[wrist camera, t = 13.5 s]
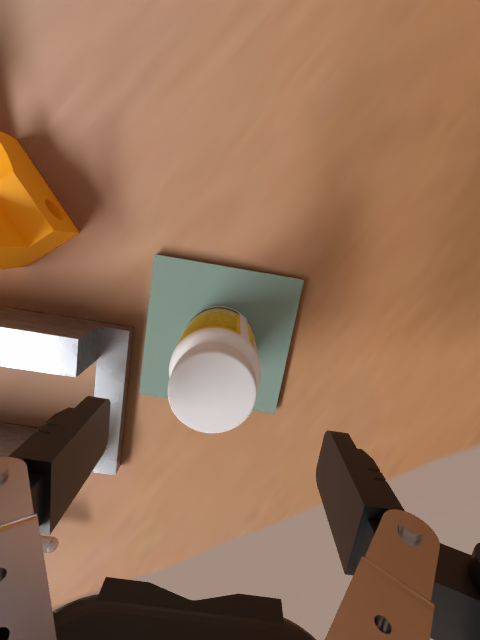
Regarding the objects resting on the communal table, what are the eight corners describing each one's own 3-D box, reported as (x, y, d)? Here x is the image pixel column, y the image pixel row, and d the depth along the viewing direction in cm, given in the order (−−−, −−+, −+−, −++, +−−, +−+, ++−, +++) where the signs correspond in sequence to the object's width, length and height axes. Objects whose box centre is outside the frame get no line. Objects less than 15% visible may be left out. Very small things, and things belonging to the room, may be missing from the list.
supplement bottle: (171, 338, 22) (134, 393, 14) (218, 290, 21) (209, 318, 13) (221, 383, 23) (213, 460, 15) (268, 338, 22) (288, 393, 14)
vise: (133, 327, 23) (112, 344, 19) (113, 533, 27) (92, 583, 23) (-74, 294, 22) (-140, 305, 18) (-63, 512, 26) (-115, 559, 22)
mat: (302, 279, 22) (303, 280, 21) (273, 409, 24) (274, 413, 24) (156, 254, 21) (154, 254, 21) (141, 390, 24) (139, 393, 23)
